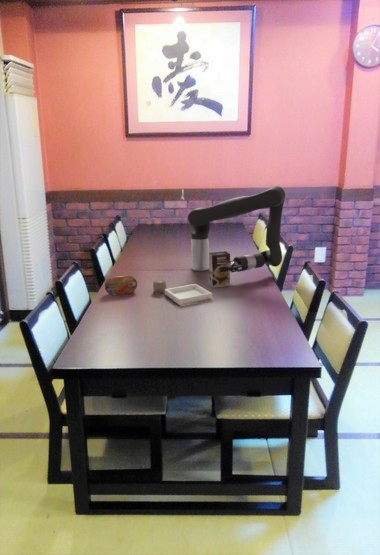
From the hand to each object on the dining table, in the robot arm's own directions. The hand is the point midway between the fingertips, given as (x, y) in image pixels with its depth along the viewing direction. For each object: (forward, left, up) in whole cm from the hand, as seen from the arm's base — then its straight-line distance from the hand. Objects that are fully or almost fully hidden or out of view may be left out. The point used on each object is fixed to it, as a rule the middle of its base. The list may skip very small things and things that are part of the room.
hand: (216, 267), depth 226 cm
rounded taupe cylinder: (-6, -27, -9) cm, 29 cm away
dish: (+8, -19, -9) cm, 23 cm away
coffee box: (0, +2, -9) cm, 9 cm away
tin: (-14, -44, -9) cm, 47 cm away
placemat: (+8, -19, -9) cm, 23 cm away
